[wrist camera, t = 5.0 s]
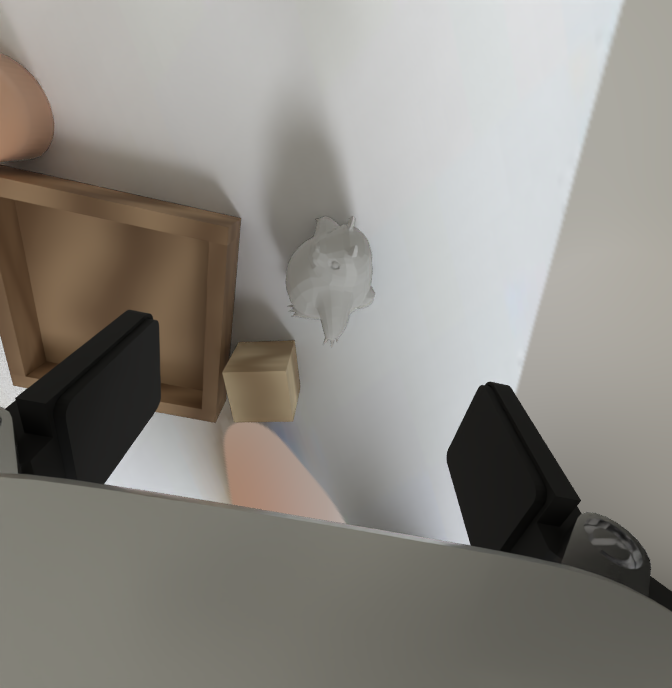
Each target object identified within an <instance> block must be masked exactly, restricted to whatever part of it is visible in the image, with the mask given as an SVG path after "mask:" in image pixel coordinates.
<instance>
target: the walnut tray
mask: <svg viewBox="0 0 672 688" xmlns="http://www.w3.org/2000/svg"><path fill="white" fill-rule="evenodd" d="M240 225H241V218H238V217H234V216H229V215H225V214H220V213H216V212H211V211H206V210H202V209H197V208H193V207H188V206H184V205H179V204H175V203H170V202H166V201H161V200H157V199H152V198H148V197H143V196H139V195H134V194H130V193H125V192H121V191H116V190H112V189H107V188H103V187H98V186H94V185H89V184H85V183H80V182H75V181H71V180H66V179H62V178H57V177H53V176H48V175H44V174H39V173H35V172H30V171H26V170H21V169H17V168H12V167H8V166H3V165H0V336H1V340H2V344H3V347H4V351H5V355H6V359H7V363H8V367H9V371H10V374H11V378H12V382H13V386H19V387H24V388H29V387H30V386H31V385H32V384H34V383H35V382H36V381H38V380H39V379H40V378H41V377H43V376H44V375H45V374H46V373H48V372H49V371H50V370H52V369H53V368H54V367H55V366H57V365H58V364H59V363H60V362H62V361H63V360H64V359H66V358H67V357H68V356H69V355H71V354H72V353H73V352H74V351H76V350H77V349H78V348H80V347H81V346H82V345H83V344H85V343H86V342H87V341H88V340H90V339H91V338H92V337H93V336H95V335H96V334H97V333H99V332H100V331H101V330H102V329H104V328H105V327H106V326H107V325H109V324H110V323H111V322H113V321H114V320H115V319H116V318H118V317H119V316H120V315H121V314H123V313H124V312H125V311H127V310H135V311H140V312H145V313H150V314H151V315H152V316H153V320H157V321H158V322H159V337H160V376H161V400H160V404H159V406H158V408H157V410H156V411H155V412H160V413H165V414H170V415H176V416H181V417H187V418H192V419H198V420H203V421H208V422H214V423H215V422H216V420H217V418H218V416H219V414H220V412H221V410H222V408H223V406H224V404H225V401H226V394H227V391H226V386H225V382H224V378H223V374H222V372H223V370H224V368H225V366H226V365H227V363H228V361H229V358H230V346H231V334H232V321H233V309H234V297H235V285H236V273H237V261H238V249H239V237H240Z"/></svg>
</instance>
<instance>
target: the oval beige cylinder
mask: <svg viewBox="0 0 672 688" xmlns="http://www.w3.org/2000/svg"><path fill="white" fill-rule="evenodd" d="M53 134H54V119H53V114H52V110H51V107H50V104H49V102H48V99H47V97H46V95H45V93H44V91H43V90H42V88H41V86H40V85H39V83H38V82H37V81H36V80H35V78H34V77H33V76H32V75H31V74H30V73H29V72H28V71H27V70H26V69H25V68H24V67H23V66H22V65H20V64H19V63H18V62H16V61H15V60H13V59H12V58H10V57H8V56H6V55H4V54H1V53H0V162H7V161H19V160H30V159H34V158H37V157H39V156H41V155H42V154H43V153H45V152H46V150H47V149H48V148H49V146H50V144H51V142H52V139H53Z"/></svg>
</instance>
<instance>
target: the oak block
mask: <svg viewBox="0 0 672 688" xmlns="http://www.w3.org/2000/svg"><path fill="white" fill-rule="evenodd" d="M222 374H223V378H224V382H225V386H226V391H227V395H228V399H229V403H230V407H231V412H232V416H233V420H234V422H290V421H293V420H294V415H295V410H296V405H297V401H298V396H299V391H300V380H299V372H298V364H297V356H296V347H295V340H292V341H258V342H239V343H238V344H237V346H236V348H235V350H234V352H233V354H232V355H231V357H230V359H229V361H228V363H227V365H226V366H225V368H224V370H223V372H222Z"/></svg>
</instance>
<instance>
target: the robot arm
mask: <svg viewBox="0 0 672 688" xmlns="http://www.w3.org/2000/svg"><path fill="white" fill-rule="evenodd" d="M15 399H16V401H14V402H13V403H12V404H11V405H9V406H8V407H7V408H6V409H4V408H2V407H0V688H672V591H670V590H669V589H667V588H666V587H665V586H663V585H662V584H661V583H659V582H658V581H657V580H655V579H654V578H652V577H651V576H650V575H651V563H650V559H649V557H648V555H647V553H646V551H645V549H644V548H643V547H642V545H641V544H640V543H639V541H638V540H637V539H636V538H635V537H634V536H633V535H632V534H631V533H630V532H629V531H628V530H626V529H625V528H624V527H622V526H621V525H620V524H618V523H617V522H615V521H613V520H611V519H609V518H608V517H606V516H602V515H600V514H597V513H590V512H586V513H583V514H582V513H581V512H580V510H579V509H578V507H577V505H578V504H579V503H580V501H581V500H580V498H579V497H578V495H577V493H576V492H575V490H574V488H573V487H572V485H571V484H570V482H569V481H568V479H567V477H566V476H565V474H564V472H563V471H562V469H561V468H560V466H559V464H558V463H557V461H556V459H555V458H554V456H553V455H552V453H551V451H550V450H549V448H548V447H547V445H546V443H545V442H544V440H543V439H542V437H541V435H540V434H539V432H538V430H537V429H536V427H535V426H534V424H533V422H532V421H531V419H530V418H529V416H528V415H527V413H526V411H525V410H524V408H523V406H522V405H521V403H520V401H519V400H518V398H517V397H516V395H515V393H514V392H513V390H512V389H511V387H510V386H508V385H504V384H499V383H494V382H487V383H486V384H485V386H484V385H481V386H480V387H479V388H478V390H477V392H476V394H475V396H474V398H473V400H472V402H471V404H470V406H469V408H468V410H467V412H466V414H465V416H464V418H463V420H462V422H461V424H460V426H459V428H458V430H457V432H456V435H455V437H454V439H453V441H452V443H451V445H450V447H449V449H448V451H447V464H448V468H449V471H450V475H451V478H452V482H453V485H454V489H455V492H456V496H457V499H458V503H459V506H460V510H461V513H462V517H463V520H464V524H465V527H466V531H467V534H468V538H469V541H470V545H471V546H470V545H464V544H459V543H453V542H447V541H442V540H436V539H430V538H424V537H419V536H413V535H407V534H402V533H396V532H390V531H384V530H379V529H373V528H367V527H361V526H355V525H350V524H344V523H337V522H332V521H326V520H320V519H314V518H308V517H302V516H296V515H290V514H284V513H279V512H272V511H266V510H261V509H255V508H249V507H243V506H237V505H231V504H225V503H218V502H212V501H206V500H200V499H194V498H188V497H182V496H176V495H170V494H163V493H157V492H151V491H145V490H139V489H132V488H125V487H119V486H112V485H105V484H104V483H105V482H106V481H107V479H108V478H109V476H110V475H111V474H112V472H113V471H114V469H115V468H116V466H117V465H118V464H119V462H120V461H121V459H122V458H123V457H124V455H125V454H126V452H127V451H128V449H129V448H130V447H131V445H132V444H133V442H134V441H135V440H136V438H137V437H138V435H139V434H140V433H141V431H142V430H143V428H144V427H145V425H146V424H147V423H148V421H149V420H150V418H151V417H152V416H153V414H154V413H155V411H156V410H157V408H158V406H159V404H160V400H161V376H160V337H159V322H158V321H157V320H153V316H152V315H151V314H150V313H145V312H140V311H135V310H127V311H125V312H124V313H123V314H121V315H120V316H119V317H118V318H116V319H115V320H114V321H113V322H111V323H110V324H109V325H107V326H106V327H105V328H104V329H102V330H101V331H100V332H99V333H97V334H96V335H95V336H93V337H92V338H91V339H90V340H88V341H87V342H86V343H85V344H83V345H82V346H81V347H80V348H78V349H77V350H76V351H74V352H73V353H72V354H71V355H69V356H68V357H67V358H66V359H64V360H63V361H62V362H60V363H59V364H58V365H57V366H55V367H54V368H53V369H52V370H50V371H49V372H48V373H46V374H45V375H44V376H43V377H41V378H40V379H39V380H38V381H36V382H35V383H34V384H32V385H31V386H30V387H29V388H27V389H26V390H25V391H24V392H22V393H21V394H20V395H19V396H17V397H16V398H15Z"/></svg>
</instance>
